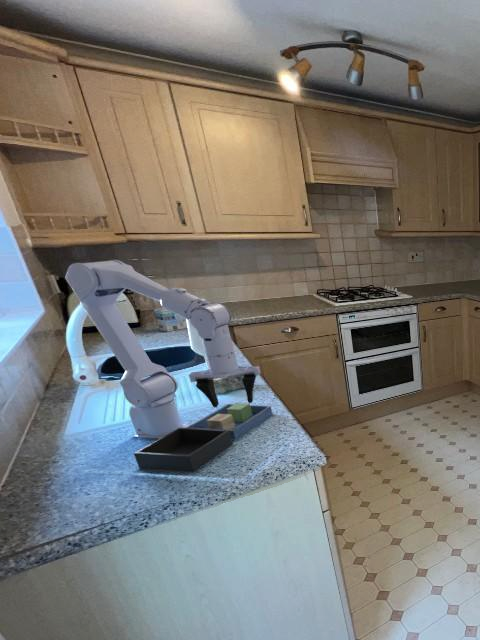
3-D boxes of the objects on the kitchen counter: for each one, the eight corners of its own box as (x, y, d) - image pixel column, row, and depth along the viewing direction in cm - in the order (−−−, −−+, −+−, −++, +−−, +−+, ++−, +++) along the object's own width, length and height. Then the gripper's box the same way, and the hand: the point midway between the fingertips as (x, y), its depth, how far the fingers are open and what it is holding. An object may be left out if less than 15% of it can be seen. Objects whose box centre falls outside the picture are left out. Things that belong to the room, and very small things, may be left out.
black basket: (140, 470, 92) (133, 453, 90) (184, 443, 103) (179, 427, 101) (194, 473, 91) (189, 456, 89) (233, 445, 102) (229, 430, 100)
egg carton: (216, 396, 130) (213, 384, 129) (207, 390, 134) (204, 379, 133) (252, 386, 138) (249, 375, 137) (242, 381, 142) (240, 370, 141)
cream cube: (210, 433, 107) (206, 420, 105) (221, 426, 110) (218, 413, 109) (224, 434, 106) (221, 421, 105) (235, 427, 110) (232, 414, 109)
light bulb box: (168, 332, 202) (161, 310, 198) (159, 330, 204) (152, 309, 200) (190, 327, 211) (184, 306, 207) (182, 326, 213) (176, 305, 209)
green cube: (229, 421, 113) (226, 408, 112) (239, 415, 117) (236, 402, 115) (243, 422, 113) (239, 409, 111) (252, 416, 117) (249, 403, 115)
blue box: (188, 438, 105) (184, 428, 104) (230, 413, 119) (227, 403, 118) (236, 441, 104) (233, 430, 103) (272, 415, 118) (270, 406, 117)
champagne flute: (221, 384, 140) (203, 315, 131) (198, 386, 138) (178, 317, 129) (227, 377, 145) (209, 311, 137) (205, 379, 143) (186, 312, 134)
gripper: (179, 361, 93) (195, 414, 98) (251, 355, 98) (263, 405, 103) (188, 352, 99) (203, 402, 104) (256, 347, 104) (267, 395, 109)
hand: (233, 403), depth 104 cm, fingers open, 7 cm apart
